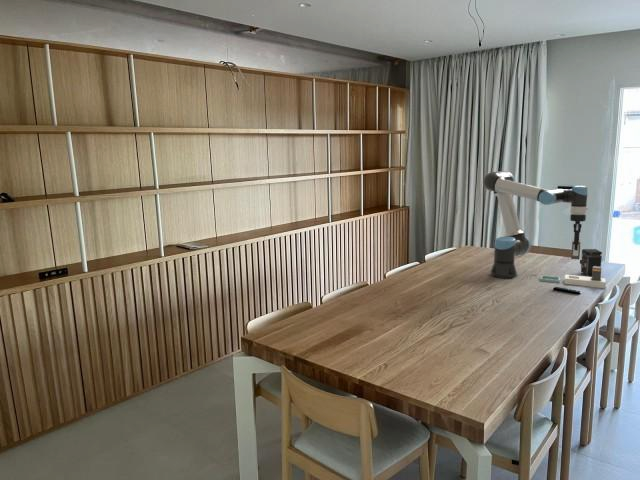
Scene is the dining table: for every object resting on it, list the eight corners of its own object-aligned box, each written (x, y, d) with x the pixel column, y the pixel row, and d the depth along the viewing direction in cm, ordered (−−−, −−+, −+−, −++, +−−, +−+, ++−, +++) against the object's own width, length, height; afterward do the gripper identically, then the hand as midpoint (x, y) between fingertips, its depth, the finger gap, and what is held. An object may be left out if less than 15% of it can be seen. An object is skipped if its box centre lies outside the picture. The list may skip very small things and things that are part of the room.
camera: (593, 271, 291) (595, 248, 288) (602, 276, 281) (604, 251, 278) (576, 271, 292) (578, 248, 289) (584, 276, 282) (586, 251, 279)
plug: (571, 259, 264) (572, 241, 262) (571, 257, 268) (572, 240, 266) (579, 259, 262) (580, 242, 260) (579, 258, 266) (580, 240, 264)
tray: (540, 281, 273) (540, 278, 272) (541, 278, 279) (541, 275, 279) (559, 283, 268) (559, 280, 267) (560, 280, 275) (560, 277, 274)
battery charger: (564, 284, 266) (565, 266, 264) (564, 280, 274) (566, 263, 272) (605, 288, 257) (606, 269, 255) (604, 284, 264) (606, 266, 262)
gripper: (585, 216, 251) (583, 258, 255) (586, 212, 266) (583, 252, 270) (570, 215, 255) (567, 257, 259) (571, 211, 270) (568, 251, 274)
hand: (575, 254), depth 265 cm, fingers closed on plug, 4 cm apart
